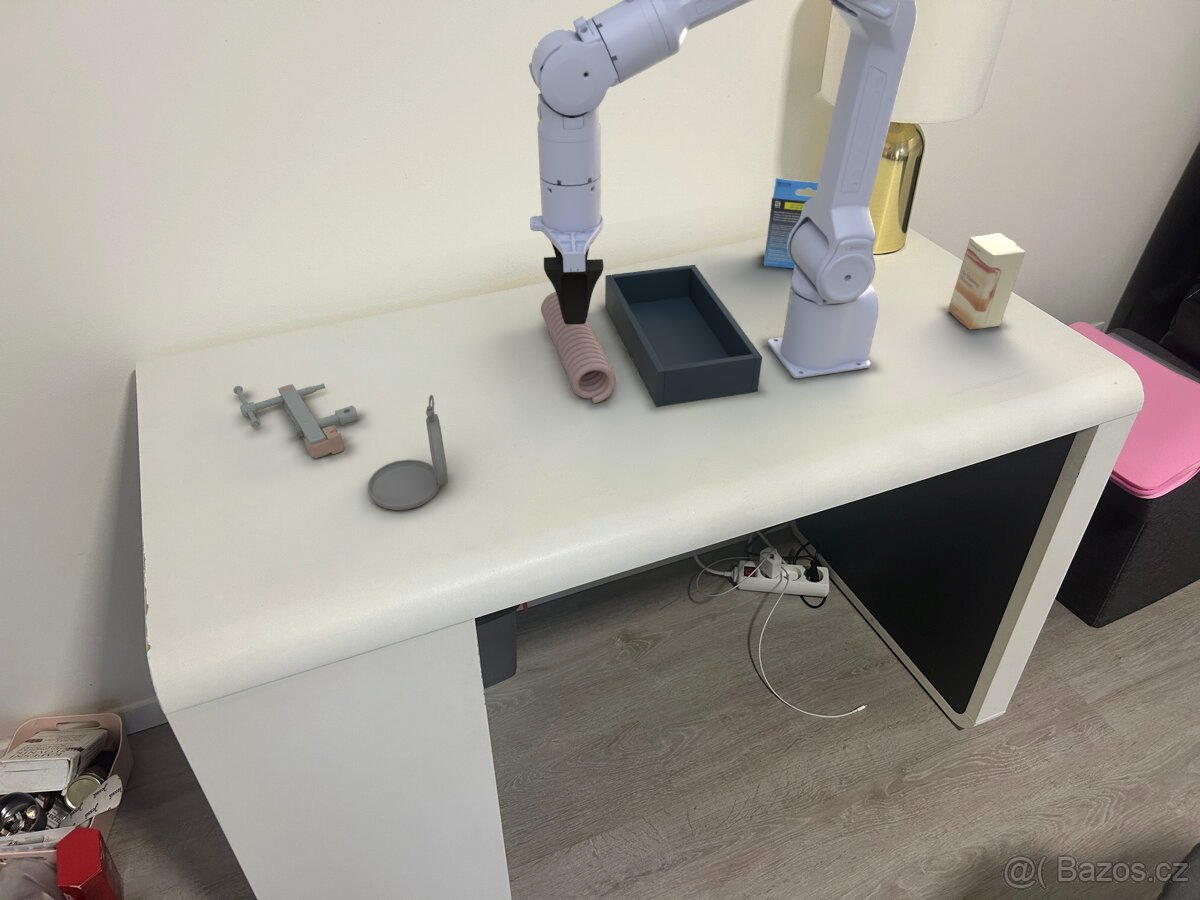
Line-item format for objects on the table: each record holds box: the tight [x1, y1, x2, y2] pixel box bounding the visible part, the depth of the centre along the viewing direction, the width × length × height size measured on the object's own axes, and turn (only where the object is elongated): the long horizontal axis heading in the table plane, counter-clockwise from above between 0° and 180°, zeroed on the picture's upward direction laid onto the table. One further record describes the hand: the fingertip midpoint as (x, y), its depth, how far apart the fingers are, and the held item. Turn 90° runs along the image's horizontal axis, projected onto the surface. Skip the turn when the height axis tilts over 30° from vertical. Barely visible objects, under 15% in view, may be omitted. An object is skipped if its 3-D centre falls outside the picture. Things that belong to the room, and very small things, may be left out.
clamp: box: [232, 383, 359, 459], centre depth 88 cm, size 15×2×10 cm
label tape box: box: [763, 177, 819, 269], centre depth 112 cm, size 9×4×12 cm, turn 77°
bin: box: [604, 264, 763, 408], centre depth 98 cm, size 12×22×4 cm, turn 14°
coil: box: [540, 291, 617, 404], centre depth 96 cm, size 5×5×18 cm
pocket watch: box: [367, 394, 449, 511], centre depth 77 cm, size 8×8×10 cm
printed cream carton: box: [947, 232, 1027, 331], centre depth 101 cm, size 5×4×10 cm
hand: (573, 303), depth 88 cm, fingers open, 7 cm apart
